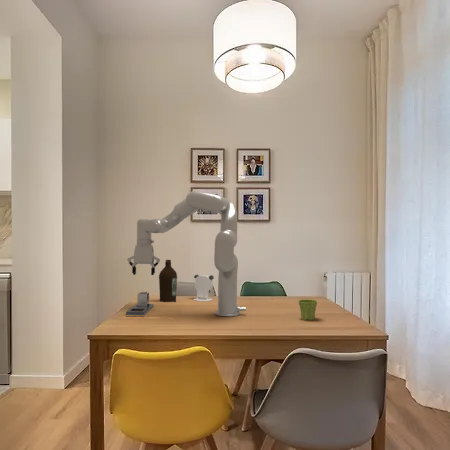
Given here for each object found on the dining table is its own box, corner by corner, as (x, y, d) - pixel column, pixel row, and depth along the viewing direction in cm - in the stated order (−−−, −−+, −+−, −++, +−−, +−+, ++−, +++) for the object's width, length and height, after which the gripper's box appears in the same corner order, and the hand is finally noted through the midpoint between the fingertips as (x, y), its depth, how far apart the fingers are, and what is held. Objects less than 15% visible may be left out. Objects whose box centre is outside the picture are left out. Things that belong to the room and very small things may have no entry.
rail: (153, 308, 221) (153, 303, 221) (144, 317, 199) (144, 311, 199) (137, 308, 221) (137, 303, 222) (125, 316, 199) (125, 311, 200)
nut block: (148, 307, 219) (149, 291, 219) (146, 309, 214) (146, 293, 214) (139, 307, 219) (139, 291, 219) (137, 309, 214) (137, 293, 214)
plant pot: (306, 322, 190) (306, 303, 190) (294, 318, 198) (294, 300, 198) (322, 320, 194) (322, 301, 194) (309, 316, 203) (309, 298, 203)
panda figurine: (215, 298, 254) (215, 274, 254) (210, 301, 243) (210, 276, 243) (196, 297, 257) (196, 273, 257) (191, 300, 246) (191, 275, 246)
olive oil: (156, 303, 236) (156, 260, 236) (162, 300, 246) (162, 259, 247) (173, 304, 234) (174, 260, 234) (179, 301, 244) (179, 259, 245)
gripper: (161, 242, 220) (161, 274, 220) (129, 242, 221) (129, 273, 221) (158, 243, 213) (158, 275, 212) (125, 242, 213) (125, 275, 213)
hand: (143, 274), depth 216 cm, fingers open, 9 cm apart
